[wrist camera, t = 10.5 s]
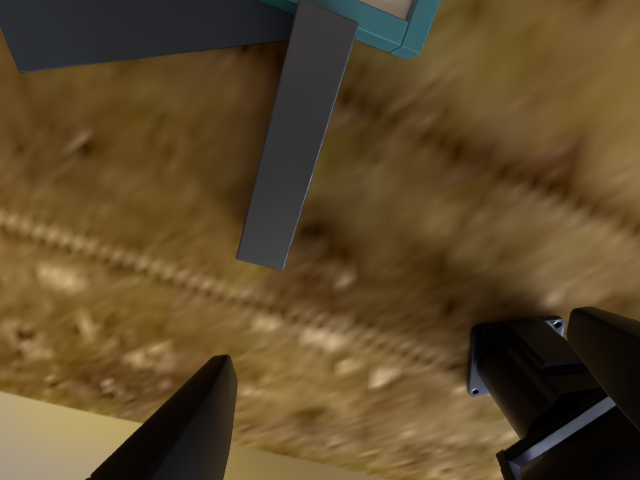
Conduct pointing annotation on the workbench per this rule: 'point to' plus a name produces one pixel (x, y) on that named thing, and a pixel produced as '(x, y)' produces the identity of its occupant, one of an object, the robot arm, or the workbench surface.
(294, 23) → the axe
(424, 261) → the workbench surface
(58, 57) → the mat
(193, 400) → the robot arm
